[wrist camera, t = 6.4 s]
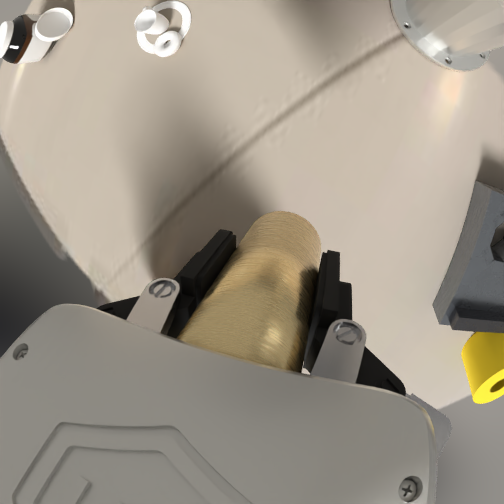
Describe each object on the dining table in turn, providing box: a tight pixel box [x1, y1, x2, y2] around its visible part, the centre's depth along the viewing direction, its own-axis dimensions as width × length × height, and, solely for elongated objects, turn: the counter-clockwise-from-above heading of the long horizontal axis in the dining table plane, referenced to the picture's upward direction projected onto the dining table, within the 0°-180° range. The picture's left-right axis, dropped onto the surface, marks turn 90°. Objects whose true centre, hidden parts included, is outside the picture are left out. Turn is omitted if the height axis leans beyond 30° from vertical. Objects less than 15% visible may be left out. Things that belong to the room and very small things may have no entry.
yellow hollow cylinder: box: [461, 332, 504, 404], centre depth 27 cm, size 10×10×9 cm
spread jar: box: [0, 8, 73, 64], centre depth 19 cm, size 12×11×12 cm
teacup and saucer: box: [134, 1, 191, 57], centre depth 22 cm, size 9×8×4 cm
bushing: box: [176, 211, 321, 373], centre depth 10 cm, size 4×4×10 cm
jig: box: [433, 181, 504, 333], centre depth 23 cm, size 18×14×6 cm
